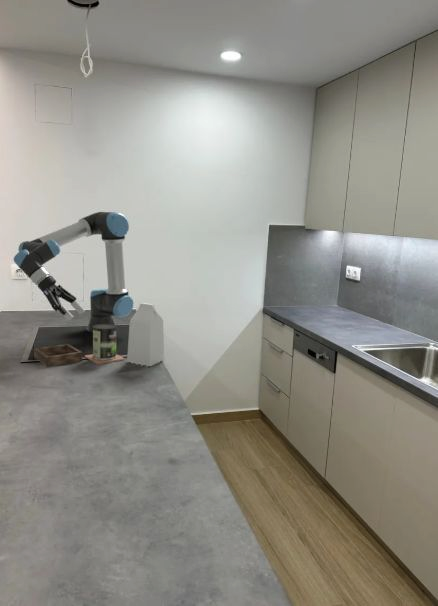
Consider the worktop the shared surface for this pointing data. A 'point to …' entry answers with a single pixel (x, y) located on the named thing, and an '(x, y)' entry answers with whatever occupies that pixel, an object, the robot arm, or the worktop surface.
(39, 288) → the robot arm
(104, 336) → the coffee can
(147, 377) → the worktop surface
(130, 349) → the milk
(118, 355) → the tile
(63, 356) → the tray
